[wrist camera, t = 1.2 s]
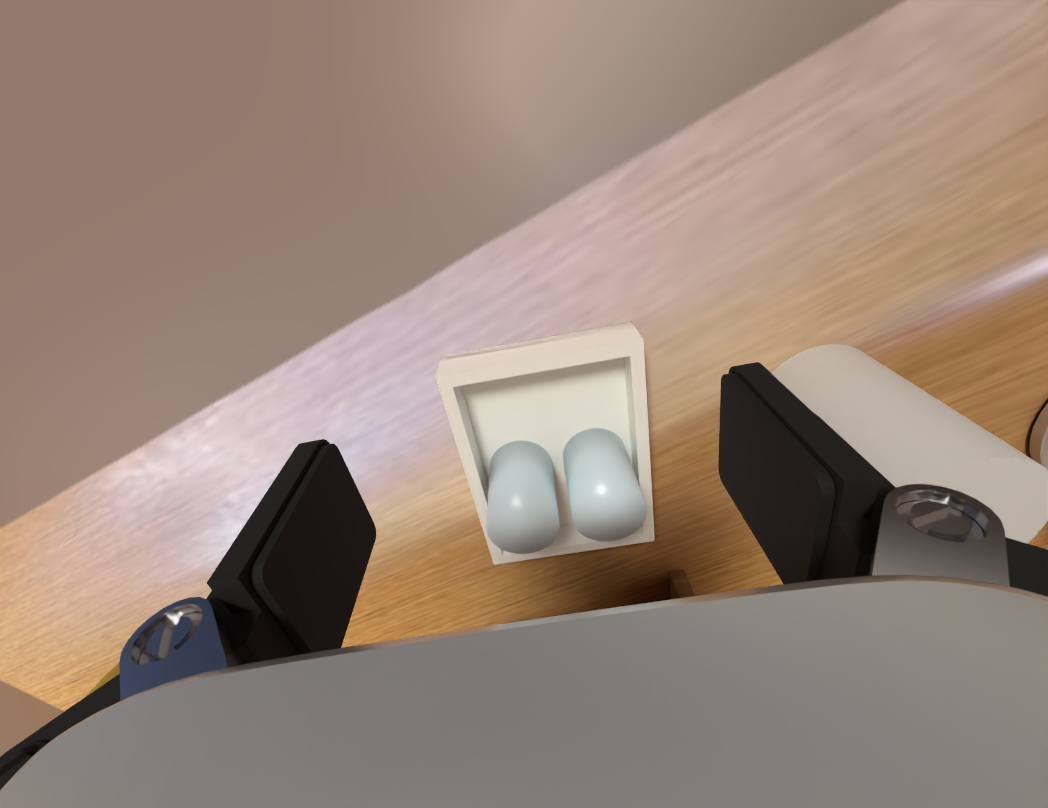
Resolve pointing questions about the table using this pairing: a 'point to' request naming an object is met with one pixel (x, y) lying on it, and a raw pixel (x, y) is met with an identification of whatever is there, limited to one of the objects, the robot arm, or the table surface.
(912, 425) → the white cylinder
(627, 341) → the tray
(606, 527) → the grey rounded cylinder
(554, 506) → the blue-grey rounded cylinder
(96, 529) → the table surface
